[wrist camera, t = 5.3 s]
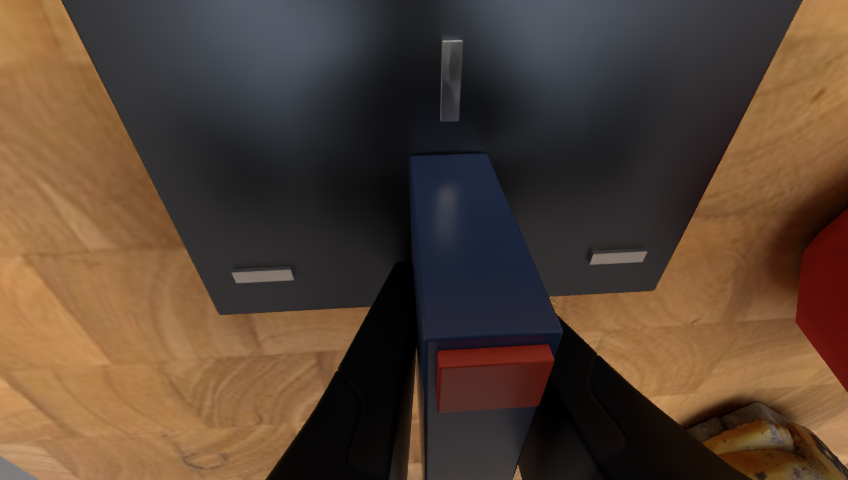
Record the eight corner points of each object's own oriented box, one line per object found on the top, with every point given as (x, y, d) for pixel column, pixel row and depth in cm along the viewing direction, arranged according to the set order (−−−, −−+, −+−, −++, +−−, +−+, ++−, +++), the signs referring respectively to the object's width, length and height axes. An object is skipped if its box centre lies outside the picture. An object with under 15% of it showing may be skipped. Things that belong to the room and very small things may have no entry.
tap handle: (468, 338, 12) (504, 528, 8) (414, 341, 12) (425, 535, 8) (488, 152, 8) (573, 349, 4) (408, 155, 8) (425, 357, 4)
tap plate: (276, 318, 15) (254, 394, 13) (109, -136, 7) (-38, -168, 5) (582, 300, 16) (618, 370, 13) (739, -137, 8) (901, -167, 5)
